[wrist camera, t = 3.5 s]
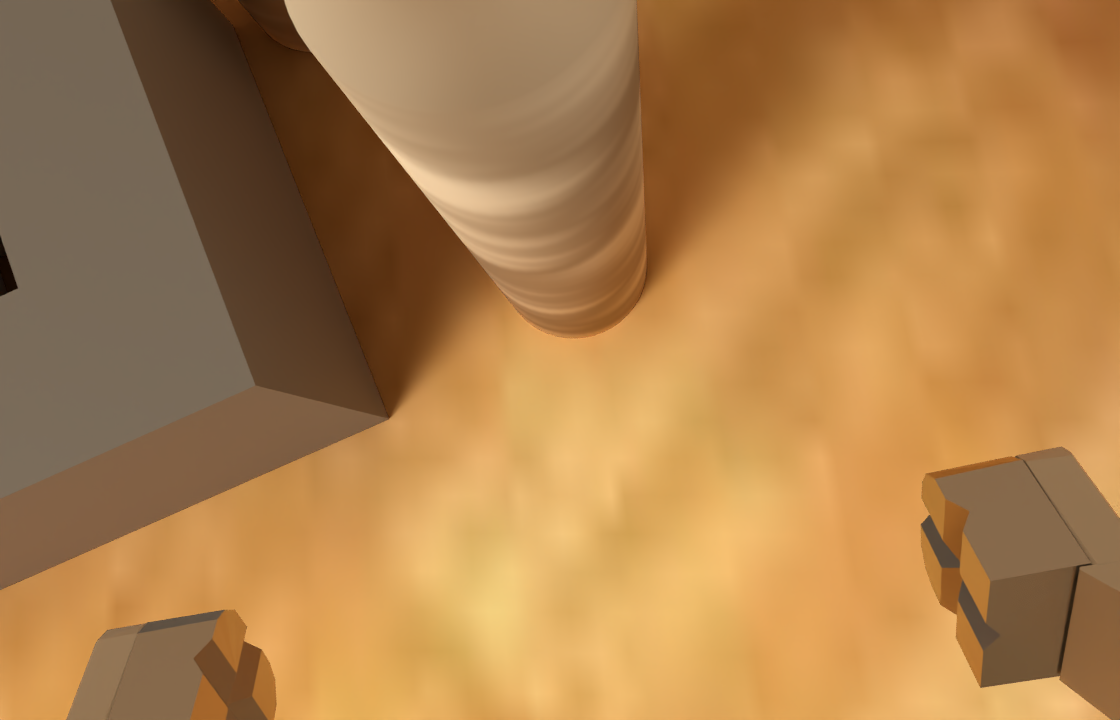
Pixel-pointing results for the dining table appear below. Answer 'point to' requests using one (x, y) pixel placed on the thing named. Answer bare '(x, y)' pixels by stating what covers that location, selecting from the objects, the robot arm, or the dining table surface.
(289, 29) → the short pin
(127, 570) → the dining table surface
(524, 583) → the dining table surface
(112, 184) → the hole block
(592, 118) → the tall pin
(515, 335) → the dining table surface
